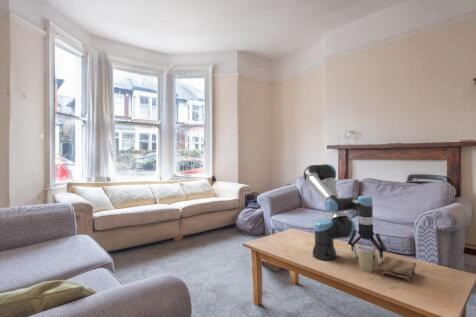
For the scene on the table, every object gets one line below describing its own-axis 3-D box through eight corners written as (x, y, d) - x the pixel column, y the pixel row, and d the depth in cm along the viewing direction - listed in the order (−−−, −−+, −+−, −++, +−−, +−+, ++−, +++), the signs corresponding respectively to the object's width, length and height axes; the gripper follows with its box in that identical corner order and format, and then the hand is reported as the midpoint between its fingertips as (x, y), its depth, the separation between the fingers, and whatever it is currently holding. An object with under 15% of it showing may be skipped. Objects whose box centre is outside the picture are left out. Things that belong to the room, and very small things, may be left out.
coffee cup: (378, 272, 149) (377, 251, 148) (360, 271, 150) (359, 250, 150) (373, 265, 158) (372, 245, 157) (356, 264, 160) (355, 245, 159)
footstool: (378, 275, 146) (378, 265, 145) (385, 265, 157) (385, 256, 157) (410, 283, 136) (410, 273, 135) (416, 273, 147) (415, 263, 146)
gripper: (341, 221, 159) (342, 256, 159) (388, 228, 142) (389, 267, 142) (346, 218, 164) (347, 252, 165) (391, 225, 148) (392, 262, 148)
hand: (366, 259), depth 154 cm, fingers open, 13 cm apart
